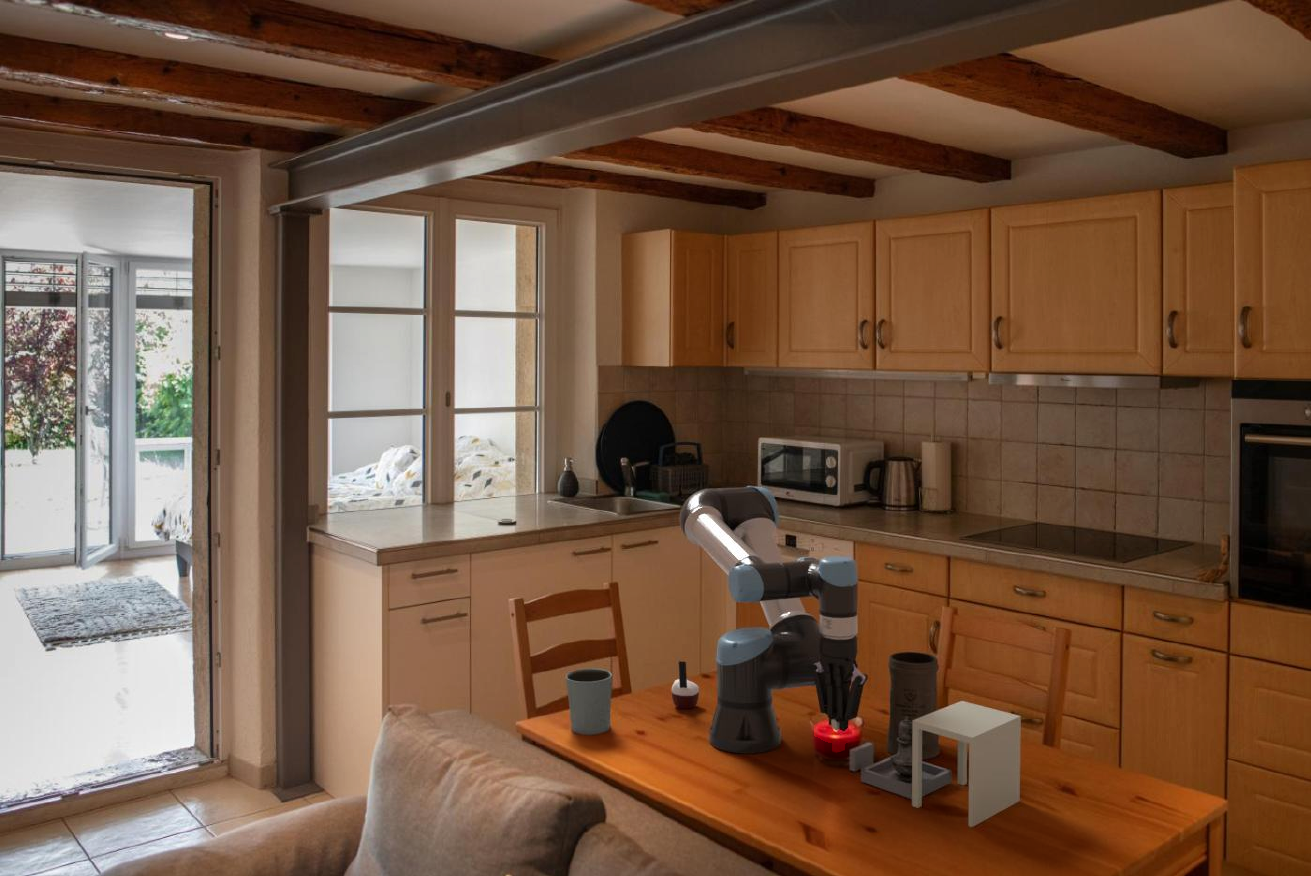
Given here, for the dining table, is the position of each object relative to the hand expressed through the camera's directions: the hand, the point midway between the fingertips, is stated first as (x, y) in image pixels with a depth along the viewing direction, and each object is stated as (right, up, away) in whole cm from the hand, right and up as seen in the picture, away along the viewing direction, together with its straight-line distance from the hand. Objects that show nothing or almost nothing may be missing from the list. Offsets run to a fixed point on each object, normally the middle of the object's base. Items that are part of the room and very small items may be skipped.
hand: (838, 750), depth 209 cm
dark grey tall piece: (+11, -2, -12) cm, 16 cm away
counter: (+19, -3, -21) cm, 29 cm away
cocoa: (-30, 0, +34) cm, 45 cm away
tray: (+9, -2, -10) cm, 14 cm away
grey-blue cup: (-51, -1, +20) cm, 55 cm away
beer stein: (+17, -2, +7) cm, 18 cm away
